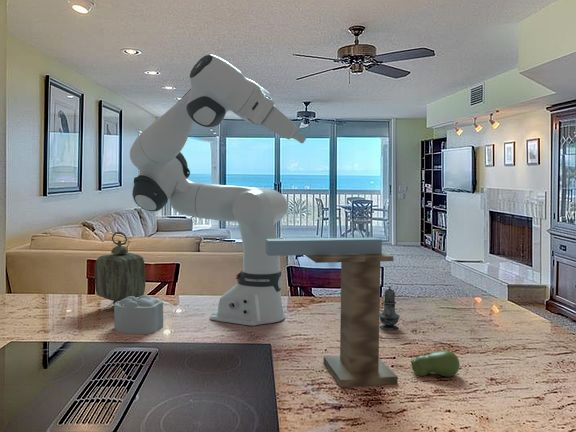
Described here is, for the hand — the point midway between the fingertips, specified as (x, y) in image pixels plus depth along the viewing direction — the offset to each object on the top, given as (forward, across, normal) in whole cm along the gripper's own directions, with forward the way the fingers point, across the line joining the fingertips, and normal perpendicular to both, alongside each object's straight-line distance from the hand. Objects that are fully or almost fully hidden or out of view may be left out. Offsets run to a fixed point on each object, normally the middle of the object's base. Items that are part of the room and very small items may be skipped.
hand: (298, 136), depth 126 cm
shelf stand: (+26, +38, -34) cm, 58 cm away
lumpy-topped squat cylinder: (-4, -5, -70) cm, 70 cm away
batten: (+9, +30, -16) cm, 35 cm away
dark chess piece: (+52, +10, -29) cm, 60 cm away
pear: (+41, +43, -24) cm, 64 cm away
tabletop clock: (-6, -28, -79) cm, 84 cm away
